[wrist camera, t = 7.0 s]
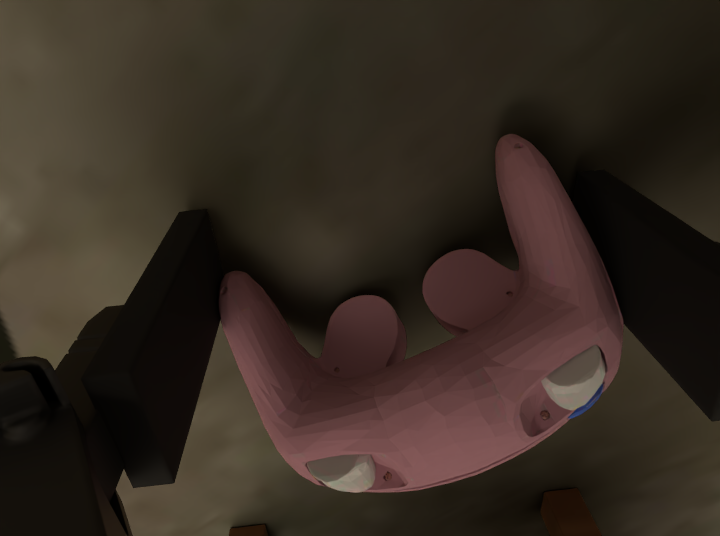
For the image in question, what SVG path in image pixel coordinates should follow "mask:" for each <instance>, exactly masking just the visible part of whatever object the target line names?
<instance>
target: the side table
mask: <svg viewBox="0 0 720 536" xmlns="http://www.w3.org/2000/svg"><path fill="white" fill-rule="evenodd" d="M541 515H542V518H543V520H544V522H545V525H546V527H547V530H548V532H549V534H550V536H602V535H601V533H600V531H599V529H598V527H597V525H596V523H595V521H594V519H593V517H592V516H591V514H590V512H589V510H588V508H587V506H586V504H585V502H584V500H583V498H582V496H581V494H580V492H579V490H578V489H577V488H574V489H565V490H557V491H548V492H544V496H543V501H542V506H541ZM229 536H268V534H267V530H266V527H265V525H256V526H247V527H239V528H231V529H230V532H229Z"/></svg>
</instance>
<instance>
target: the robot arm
mask: <svg viewBox="0 0 720 536" xmlns="http://www.w3.org/2000/svg"><path fill="white" fill-rule="evenodd" d="M573 205H574V207H575V209H576V211H577V213H578V215H579V216H580V218H581V220H582V222H583V224H584V226H585V227H586V229H587V231H588V233H589V235H590V237H591V239H592V241H593V243H594V245H595V246H596V249H597V251H598V253H599V255H600V257H601V259H602V261H603V263H604V266H605V268H606V271H607V273H608V276H609V278H610V281H611V283H612V286H613V289H614V292H615V295H616V299H617V302H618V305H619V308H620V311H621V314H622V317H623V323H624V324H625V325H626V327H627V328H628V329H629V330H630V331H631V332H632V333H633V334H634V335H635V337H636V338H637V339H638V340H639V341H640V342H641V343H642V344H643V345H644V347H645V348H646V349H647V350H648V351H649V352H650V353H651V354H652V356H653V357H654V358H655V359H656V360H657V361H658V362H659V363H660V364H661V366H662V367H663V368H664V369H665V370H666V371H667V372H668V373H669V374H670V376H671V377H672V378H673V379H674V380H675V381H676V382H677V383H678V384H679V386H680V387H681V388H682V389H683V390H684V391H685V392H686V393H687V395H688V396H689V397H690V398H691V399H692V400H693V401H694V402H695V403H696V405H697V406H698V407H699V408H700V409H701V410H702V411H703V412H704V413H705V415H706V416H707V417H708V418H709V419H710V420H711V421H720V243H718V242H714V241H712V240H711V239H709V238H708V237H706V236H704V235H703V234H701V233H700V232H698V231H697V230H695V229H694V228H692V227H691V226H689V225H688V224H686V223H685V222H683V221H682V220H680V219H679V218H677V217H675V216H674V215H672V214H671V213H669V212H668V211H666V210H665V209H663V208H662V207H660V206H659V205H657V204H656V203H654V202H653V201H651V200H650V199H648V198H646V197H645V196H643V195H642V194H640V193H639V192H637V191H636V190H634V189H633V188H631V187H630V186H628V185H627V184H625V183H624V182H622V181H621V180H619V179H617V178H616V177H614V176H613V175H611V174H610V173H608V172H607V171H605V170H596V171H585V172H577V178H576V185H575V191H574V198H573ZM223 278H224V274H223V270H222V266H221V262H220V258H219V254H218V250H217V246H216V242H215V238H214V234H213V230H212V226H211V222H210V218H209V214H208V211H207V209H204V210H194V211H184V212H179V213H178V215H177V217H176V218H175V220H174V222H173V223H172V225H171V227H170V229H169V230H168V232H167V234H166V235H165V237H164V239H163V240H162V242H161V244H160V245H159V247H158V249H157V250H156V252H155V254H154V256H153V257H152V259H151V261H150V262H149V264H148V266H147V267H146V269H145V271H144V272H143V274H142V276H141V277H140V279H139V281H138V283H137V284H136V286H135V288H134V289H133V291H132V293H131V294H130V296H129V298H128V299H127V301H126V303H125V305H120V306H110V307H106V308H104V309H103V310H102V311H100V312H99V313H98V314H97V315H95V316H94V317H93V318H92V319H90V320H89V321H88V322H87V324H86V325H85V326H84V328H83V329H82V331H81V332H80V334H79V335H78V337H77V340H76V341H74V343H73V344H72V346H71V347H70V349H69V350H68V351H69V354H66V355H65V356H64V358H63V359H62V361H61V362H60V364H59V365H58V367H57V368H56V370H55V371H54V369H53V367H52V365H51V364H50V363H49V361H48V360H47V359H44V358H40V357H36V356H34V357H21V358H17V359H14V360H10V361H6V362H3V363H1V364H0V536H133V535H132V532H131V529H130V526H129V523H128V519H127V516H126V513H125V510H124V507H123V504H122V501H121V499H120V497H119V495H118V493H117V491H116V487H117V484H118V481H119V479H120V476H121V474H122V471H123V469H124V470H125V472H126V474H127V476H128V478H129V480H130V482H131V484H132V486H133V488H137V487H146V486H154V485H163V484H172V483H174V482H175V479H176V475H177V472H178V468H179V464H180V461H181V457H182V454H183V450H184V447H185V443H186V440H187V436H188V433H189V429H190V425H191V422H192V418H193V415H194V411H195V408H196V404H197V401H198V397H199V394H200V390H201V387H202V383H203V379H204V376H205V372H206V369H207V365H208V362H209V358H210V355H211V351H212V348H213V344H214V340H215V337H216V333H217V330H218V326H219V323H220V319H221V318H220V313H219V306H218V297H219V288H220V284H221V281H222V279H223Z"/></svg>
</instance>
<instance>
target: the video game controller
mask: <svg viewBox="0 0 720 536" xmlns="http://www.w3.org/2000/svg"><path fill="white" fill-rule="evenodd" d="M495 163H496V179H497V185H498V191H499V195H500V198H501V202H502V206H503V210H504V213H505V217H506V221H507V225H508V228H509V232H510V235H511V238H512V241H513V243H514V246H515V249H516V251H517V254H518V257H519V269H518V270H515V271H513V270H510V269H508V268H506V267H504V266H502V265H501V264H499V263H497V262H496V261H494V260H493V259H491V258H490V257H488V256H487V255H485V254H484V253H481V252H479V251H476V250H473V249H460V250H455V251H452V252H450V253H447V254H445V255H444V256H442V257H441V258H439V259H438V260H437V261H436V262H435V263H434V264H433V265H432V266H431V267H430V268H429V269H428V271H427V273H426V275H425V277H424V280H423V291H422V293H423V296H424V299H425V302H426V304H427V305H428V307H429V309H430V310H431V312H432V313H433V315H434V316H435V318H436V319H437V321H438V322H439V324H441V325H442V326H443V327H444V328H445V329H446V330H447V331H449V332H450V333H452V334H453V335H455V336H457V337H455V338H453V339H451V340H449V341H447V342H445V343H443V344H441V345H439V346H436V347H434V348H432V349H429V350H427V351H425V352H422V353H420V354H418V355H416V356H413V357H411V358H409V359H406V360H404V357H405V353H406V348H407V338H406V331H405V328H404V325H403V323H402V322H401V320H400V318H399V317H398V315H397V313H396V311H395V310H394V308H393V307H392V306H391V305H390V304H389V303H388V302H387V301H386V300H384V299H383V298H381V297H379V296H374V295H362V296H357V297H353V298H350V299H349V300H347V301H345V302H344V303H342V304H341V305H339V306H338V307H337V309H336V310H335V311H334V313H333V314H332V316H331V317H330V320H329V324H328V327H327V331H326V337H325V343H324V347H323V350H322V353H321V357H319V358H318V359H316V358H315V357H313V356H311V355H310V354H309V353H308V352H307V351H306V350H305V349H304V348H303V347H302V346H301V345H300V343H299V342H298V341H297V340H296V338H295V336H294V335H293V333H292V331H291V330H290V328H289V326H288V325H287V323H286V322H285V320H284V318H283V317H282V315H281V313H280V312H279V310H278V309H277V307H276V306H275V304H274V303H273V302H272V300H271V299H270V298H269V296H268V295H267V294H266V292H265V291H264V290H263V288H262V287H261V286H260V285H259V284H258V283H256V282H255V281H254V280H253V279H252V278H251V277H250V276H249V275H248V274H247V273H245V272H241V271H232V272H229V273H227V274H226V275H225V276H224V278H223V279H222V281H221V284H220V288H219V297H218V306H219V313H220V318H221V322H222V326H223V330H224V332H225V335H226V337H227V340H228V342H229V345H230V347H231V350H232V352H233V355H234V357H235V360H236V362H237V365H238V367H239V370H240V372H241V374H242V376H243V379H244V381H245V383H246V385H247V388H248V390H249V392H250V395H251V397H252V399H253V401H254V404H255V406H256V408H257V410H258V413H259V415H260V417H261V419H262V422H263V424H264V426H265V428H266V430H267V432H268V434H269V436H270V438H271V440H272V441H273V443H274V445H275V447H276V449H277V450H278V451H279V453H280V454H281V455H282V457H283V458H284V459H285V461H286V462H287V463H288V464H289V465H290V466H291V467H292V468H293V469H294V470H295V471H296V472H297V473H299V474H300V475H301V476H303V477H304V478H306V479H308V480H309V481H311V482H313V483H315V484H316V485H321V486H325V487H330V488H333V489H336V490H338V491H345V492H354V493H359V492H405V491H414V490H422V489H426V488H430V487H434V486H439V485H443V484H447V483H451V482H455V481H458V480H461V479H464V478H468V477H471V476H474V475H477V474H480V473H482V472H484V471H486V470H489V469H491V468H493V467H495V466H497V465H500V464H502V463H504V462H506V461H508V460H510V459H512V458H514V457H516V456H518V455H519V454H521V453H523V452H525V451H527V450H529V449H530V448H532V447H534V446H535V445H537V444H538V443H540V442H541V441H543V440H544V439H546V438H547V437H548V436H550V435H551V434H553V433H554V432H555V431H556V430H558V429H559V428H560V427H561V426H563V425H564V424H565V423H566V422H567V421H568V420H569V419H570V418H574V417H576V416H578V415H581V414H582V413H584V412H585V411H587V410H588V409H589V408H590V407H591V406H592V405H593V404H594V403H596V401H597V400H598V399H599V397H600V395H601V394H602V393H603V392H604V391H605V390H606V389H607V388H608V386H609V385H610V384H611V382H612V380H613V379H614V377H615V375H616V373H617V371H618V369H619V363H620V358H621V352H622V343H623V317H622V314H621V311H620V308H619V305H618V302H617V299H616V295H615V292H614V289H613V286H612V283H611V281H610V278H609V276H608V273H607V271H606V268H605V266H604V263H603V261H602V259H601V257H600V255H599V253H598V251H597V249H596V246H595V245H594V243H593V241H592V239H591V237H590V235H589V233H588V231H587V229H586V227H585V226H584V224H583V222H582V220H581V218H580V216H579V215H578V213H577V211H576V209H575V207H574V205H573V204H572V202H571V200H570V198H569V196H568V195H567V193H566V191H565V189H564V187H563V186H562V184H561V182H560V180H559V178H558V176H557V175H556V173H555V171H554V169H553V168H552V167H551V165H550V164H549V162H548V161H547V159H546V158H545V157H544V156H543V155H542V154H541V153H540V152H539V151H538V150H537V149H536V148H535V147H534V146H533V145H532V144H531V143H530V142H529V141H527V140H525V139H523V138H522V137H520V136H518V135H516V134H508V135H504V136H503V137H501V138H500V140H499V141H498V143H497V146H496V149H495Z"/></svg>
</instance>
